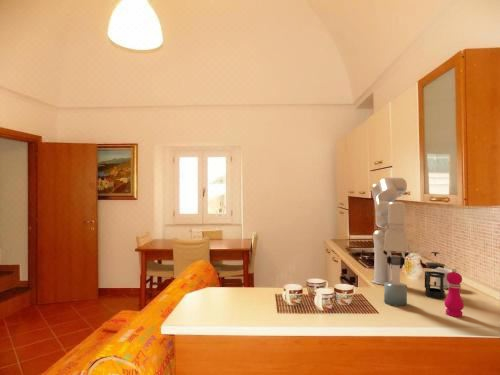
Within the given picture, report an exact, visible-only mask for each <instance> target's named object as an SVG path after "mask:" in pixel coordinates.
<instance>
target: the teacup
mask: <svg viewBox="0 0 500 375" xmlns="http://www.w3.org/2000/svg"><path fill="white" fill-rule="evenodd" d="M430 270H432V271H431V272H435V269H430ZM436 272H440V273H444V274H445V277H444V278H443V284H444V287H443V290H444V289H445V290H447V288H448V289H449V287H448V283H449V282H448V281H447V279H446V276H447V274H448V273H450V272H452V269H449V268H444V269H443V268H440V267H438V268H436ZM433 275H435V274H433ZM436 275H437V274H436ZM433 282H435V277H433ZM436 283H440V278H436ZM438 289H440V287H438Z"/></svg>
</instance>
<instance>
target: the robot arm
mask: <svg viewBox="0 0 500 375" xmlns="http://www.w3.org/2000/svg"><path fill="white" fill-rule="evenodd" d="M407 187H408V184H407V181H406V180H405V179H404V178H403V177H383V178H381V179H380V180H379V182H377V183H374V184H372V186H371V196H372V199H373V201H374V210H375V225H376V226H377V227H378V228H383V229H378V230H375V231H374V232H373V233H372V239H373V240H372V241H373V246H374V247H373V248H374V251H373V252H374V260H373V261H374V267H373V272H374V273H373V277H374V278H371V280H370V281H371V283H372V284H376V285H381V286H384V283H385V282H392V264H390V256H392V252H396V253H397V252H399V253H401V256H400V257H401V265H400V267H404V265H406V264H405V263H406V262H405V259H406V258H407V257H408V256H409V255H410V254H412V253H413V249H412V248H411V247H410V245H408V242H409V241H408V234H407V233H408V232H407V231H406V228H405V227H406V225H405V224H406V223H405V221H406V220H405V216H406V215H405V214H406V210H407V208H406V204H405V203H404V202H402V201H396V200H397V199H398V198H401V197H403V195H404V194H406V191H407ZM384 228H385V229H384Z"/></svg>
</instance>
